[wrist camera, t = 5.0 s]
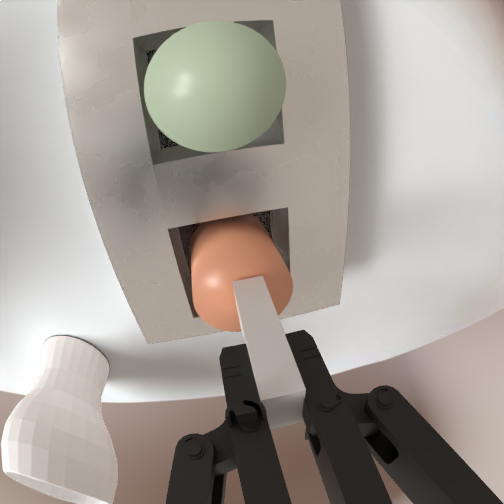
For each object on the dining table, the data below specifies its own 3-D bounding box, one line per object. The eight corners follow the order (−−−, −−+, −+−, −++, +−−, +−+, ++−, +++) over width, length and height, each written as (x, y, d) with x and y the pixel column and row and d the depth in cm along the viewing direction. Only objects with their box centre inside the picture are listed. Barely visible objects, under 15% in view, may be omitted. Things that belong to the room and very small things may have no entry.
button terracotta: (198, 285, 20) (204, 339, 16) (182, 218, 17) (182, 263, 13) (271, 271, 21) (293, 320, 16) (266, 203, 18) (292, 242, 14)
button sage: (166, 142, 14) (156, 164, 10) (152, 52, 11) (136, 34, 7) (261, 127, 15) (290, 143, 11) (252, 39, 12) (279, 17, 8)
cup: (129, 341, 24) (122, 499, 12) (118, 395, 28) (116, 512, 16) (27, 310, 20) (-21, 452, 8) (37, 372, 24) (15, 483, 12)
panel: (151, 302, 22) (148, 343, 19) (86, -63, 6) (67, -89, 3) (317, 269, 24) (339, 304, 20) (289, -87, 8) (312, -114, 4)
